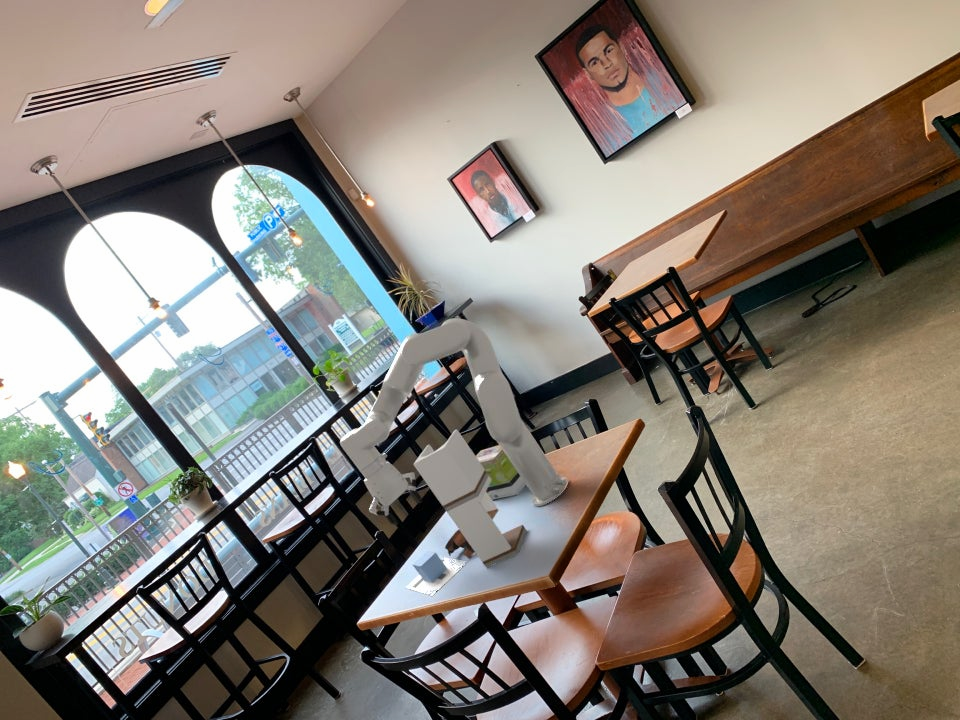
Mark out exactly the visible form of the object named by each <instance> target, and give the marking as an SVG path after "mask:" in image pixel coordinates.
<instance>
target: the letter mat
mask: <svg viewBox="0 0 960 720" xmlns="http://www.w3.org/2000/svg"><path fill="white" fill-rule="evenodd" d="M443 557H444V556H443ZM449 558H450V557H444V559H443V558H442V559H441V561H442V562H443V563H444V565H445V566H446V568H447V569H446V570H445V571H444V572H443V573H442V574H441V575H440V576H439V577H438V578H437V579H436V580H435V581H434V582H433V583H431V582H427V581H424V580H423V579H422V577H421V576H420V574H419V573H418V575H417V576H416V577H415V578H413V579H412V581H411V582H409V584H408V585H406V586H405V589H407V590H410V589H411V590H412V591H414V592H418V593H421V594H423V593H424V595H426V594H427V595H428V594H430V593H432V592H430V590H431V591H433V590H435V589H437V588H438V589H437V590H438V591H440V589H441V588H442V587H444V584H447V583H448V582H449V581H450V580H451V579H452V578H453V577H454V576H455V575H456V574H457V573H459V571H461V569H462V568H463V567H464V566H465V565H466V564H464V565H463V564H461V563H462V562H463V561H464V562H465V560H460V559H455V558H450V559H451V560H452V559H453V560H455V562H454V561H453V560H452V561H453V562H454V563H456V564H457V565H456V564H454V563H452V564H454V565H453V566H452V564H451V563H450V562H451V560H450V559H449ZM449 560H450V561H449ZM456 560H457V561H458V562H457V561H456ZM460 561H462V562H460ZM459 562H460V563H459ZM464 562H463V563H464ZM460 564H461V565H460ZM458 565H460V566H458ZM462 565H463V567H462ZM453 567H454V568H455V569H454V568H453ZM459 567H461V568H460V569H458V568H459ZM451 568H452V569H451ZM457 569H458V570H457ZM456 570H457V571H456ZM411 590H410V591H411ZM437 590H436V591H437ZM427 591H428V592H427ZM436 591H434V592H433V593H432V594H431V595H428V596H430V597H433V596H434V595H435V594H436V593H437V592H438V591H437V592H436ZM426 592H427V593H426ZM425 593H426V594H425ZM427 595H426V596H427Z"/></svg>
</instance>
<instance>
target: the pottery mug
mask: <svg viewBox="0 0 960 720" xmlns="http://www.w3.org/2000/svg"><path fill="white" fill-rule="evenodd" d="M465 547H466V548H465ZM444 548H445V550H447V553H448V555H449V557H451V556H452V555H451V554H453V553H455V551H457V550H459V549H460V548H462V549H465V550H464V552H463V556H465V557H466V558H467V559H470V558H472V556H473V555H474V553H475V551H474V550H473V548H472V547H471V545H470V544H469V543H468V541H467V540H466V538H465V537H464V536H463V534H462V533H461V531H460V530H459V529H457V530H456V531H455V532H454V533H453V535H452V536H451V537H450V538H449V540H448V541H447V543H446V544H445V547H444Z"/></svg>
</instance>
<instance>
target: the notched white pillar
mask: <svg viewBox="0 0 960 720" xmlns="http://www.w3.org/2000/svg"><path fill="white" fill-rule="evenodd" d="M413 466H414V468H415V469H416V470H417V472H418V473H419V475H420V476H421V477H422V479H423V481H425V483H426V485H427V486H428V487H429V488H430V490H431V492H432V493H433V495H434V496H435V497H436V499H437V501H439V503H440V504H441V506H442V507H443V509H444V510H445V511H446V512H447V515H448V516H449V517H450V519H451V520H452V521H453V523H454V524H455V525H456V528H458V530H460V531H461V533H462V534H463V536H464V537H465V538H466V540H467V541H468V543H469V544H470V545H471V547H472V548H473V550H474V551H475V552H474V553H475V554H476V556H477V557H478V558H479V559H480V561H481V562H482V564H483V565H484V567H485V568H486V567H487V568H489V566H490V567H492V566H494V565H496V564H498V562H499V563H501V562H502V561H505V560H507V559H509V558H511V557H515V556H517V555H518V554H520V551H521V548H522V544H523V542H524V539H525V536H526V533H527V528H526V527H525V526H524V525H523V524H521V525H519V526H517V527H515V528H512V529H510V530H508V531H506V532H504V533H502V531H501V530H500V529H499V527H498V526H497V525H496V522H494V518H495V517H496V516H497V514H498V512H499V508H498V507H497V505H496V504H495V502H494V500H492V499H491V498H490V497H489V495H488V494H487V492H486V490H487V488H488V486H489V484H490V482H491V480H492V479H491V478H490V476H489V475H488V473H487V472H486V471H485V469H484V468H483V466H482V465H481V463H480V462H479V460H478V459H477V458H476V455H475V453H474V452H473V450H472V449H471V448H470V446H469V445H468V443H467V442H466V440H465V439H464V437H463V436H462V435H461V432H459V430H458V429H455V430H453V432H452V433H451V435H450V436H449V438H447V441H445V443H444V444H442V445H441V446H440V447H439V448H438V449H433V447H432V446H431V444H430V443H429V444H428V445H426V446H425V448H424V449H423V450H422V452H421V453H420V454H419V456H418V457H417V458H416V460H415V461H414V463H413ZM500 561H501V562H500ZM495 563H496V564H495ZM493 564H494V565H493ZM491 565H492V566H491Z"/></svg>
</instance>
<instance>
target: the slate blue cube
mask: <svg viewBox="0 0 960 720" xmlns="http://www.w3.org/2000/svg"><path fill="white" fill-rule="evenodd" d="M412 567H414V569H415V570H416V572H417V573H418V575H419V574H420V576H421V577H422V579H423V580H424V581H427V582H431V583H433V582H434V581H435V580H436V579H437V578H438V577H439V576H440V575H441V574H442V573H443V572H444V571H445V570H446V569H447V568H446V566H445V565H444V563H443V562H442V561H441V559H440V558H439V555H438V554H437V552H435V551H429V550H427V551H426V552H425V553H424V554H422V555H421V556H420V557H419V558H418V559H417V560H416V561H415V562H414V563H413V564H412Z"/></svg>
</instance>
